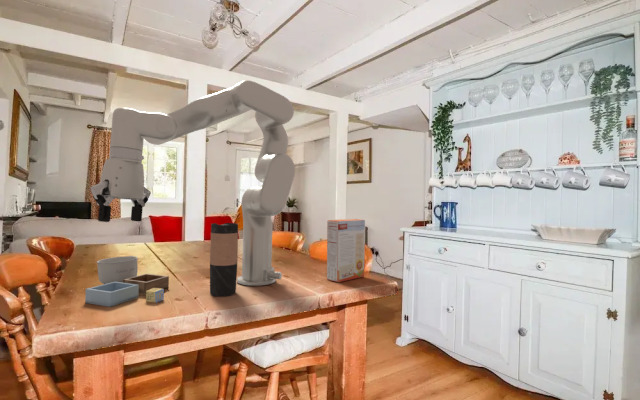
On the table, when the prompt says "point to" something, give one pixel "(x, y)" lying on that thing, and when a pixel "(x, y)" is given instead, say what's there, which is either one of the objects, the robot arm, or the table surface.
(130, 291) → the slate box
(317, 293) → the table surface
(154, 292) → the alphabet block
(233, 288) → the travel mug
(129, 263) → the grey piece
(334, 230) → the cracker box
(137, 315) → the table surface
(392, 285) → the table surface
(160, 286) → the walnut box
